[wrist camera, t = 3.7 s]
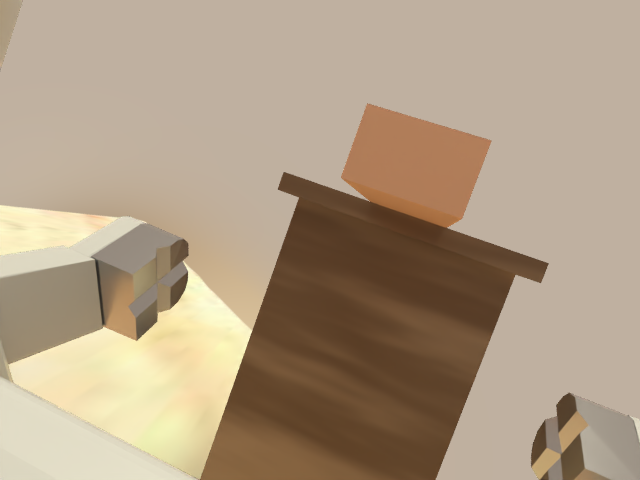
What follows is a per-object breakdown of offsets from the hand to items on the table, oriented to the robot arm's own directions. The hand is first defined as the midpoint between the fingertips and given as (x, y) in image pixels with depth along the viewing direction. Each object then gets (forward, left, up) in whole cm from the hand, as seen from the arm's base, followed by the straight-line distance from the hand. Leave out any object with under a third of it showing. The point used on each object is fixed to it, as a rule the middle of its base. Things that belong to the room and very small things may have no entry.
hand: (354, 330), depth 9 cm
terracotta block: (-6, +15, +3) cm, 17 cm away
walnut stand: (-8, +20, -23) cm, 31 cm away
